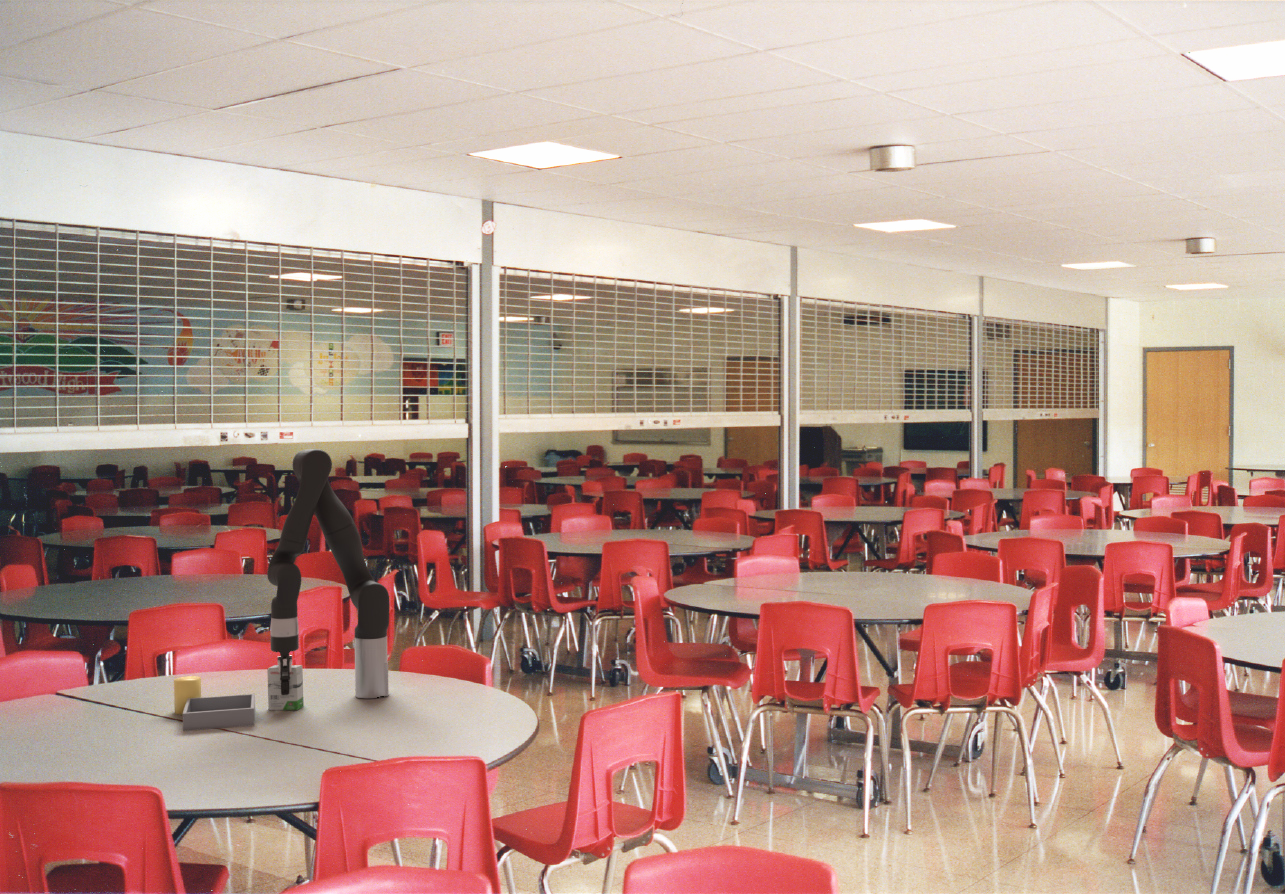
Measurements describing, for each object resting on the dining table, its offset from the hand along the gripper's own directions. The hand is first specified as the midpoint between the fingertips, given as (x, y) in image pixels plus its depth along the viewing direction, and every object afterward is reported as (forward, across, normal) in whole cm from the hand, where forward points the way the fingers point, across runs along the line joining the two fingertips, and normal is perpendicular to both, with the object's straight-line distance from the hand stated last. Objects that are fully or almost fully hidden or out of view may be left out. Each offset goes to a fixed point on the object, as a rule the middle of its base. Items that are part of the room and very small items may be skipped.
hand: (285, 691), depth 339 cm
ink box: (+5, 0, 0) cm, 5 cm away
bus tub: (+5, -8, +17) cm, 19 cm away
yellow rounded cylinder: (+5, +5, +26) cm, 27 cm away
